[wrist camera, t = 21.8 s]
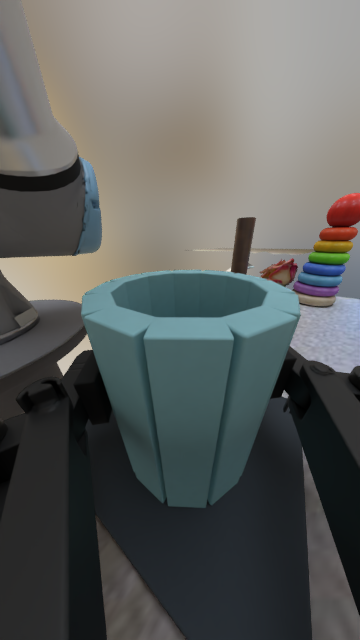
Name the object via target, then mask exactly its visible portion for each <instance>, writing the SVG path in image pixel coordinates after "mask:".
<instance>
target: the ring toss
mask: <svg viewBox="0 0 360 640" xmlns="http://www.w3.org/2000/svg"><path fill="white" fill-rule="evenodd" d="M255 220H256V218H254V217H247V218H239V219H238V220H237V227H236V235H235V244H234V251H233V259H232V267H231V272H234V274H236V273H241V274H245V275H246V273H247V267H248V261H249V255H250V250H251V244H252V238H253V232H254V226H255Z"/></svg>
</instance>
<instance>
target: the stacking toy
mask: <svg viewBox="0 0 360 640" xmlns="http://www.w3.org/2000/svg"><path fill="white" fill-rule="evenodd" d="M359 221H360V193H353V194H349V195H346V196H344V197H342V198H340V199H339V200H337V201H336V202H335V203H334V204H333V205H332V206H331V208H330V209H329V211H328V214H327V222H328V224H329V225H330V226H332V228H326V229H323V230H322V231H321V232H320V235H319V237H320V239H321V241H318V242H316V243H315V245H314V250H315V252H312V253H311V254H310V255H309V261H310V262H307V263H305V265H304V266H303V271H304V272H301V273H300V274H299V276H298V281H296V282H295V283H294V286H293V287H294V289H293V290H292V291H294V292H295V294H296V295H298V297H299V303H302V304H306V305H312V306H329V305H332V304H333V303H334V302H335V300H336V297H335V296H334V295H335V294H337V293H338V291H339V288H338V286H337V285H339V284H340V283H341V282H342V277H341V276H340V274H342V273H343V272H344V271H345V265H343V264H344V263H346V262H347V261H348V260H349V258H350V255H349V254H348V253H346V252H348V251H350V250H351V249H352V247H353V243H352V242H351V241H348V240H351V239H353V238H354V237H355V236H356V235H357V233H358V230H357V229H356V228H354V227H350V226H352V225H354V224H356V223H358V222H359Z"/></svg>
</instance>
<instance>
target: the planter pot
mask: <svg viewBox="0 0 360 640" xmlns="http://www.w3.org/2000/svg"><path fill="white" fill-rule="evenodd" d="M81 316H82V319H83V322H84V325H85V328H86V331H87V334H88V337H89V340H90V343H91V346H92V349H93V352H94V355H95V358H96V361H97V364H98V367H99V370H100V373H101V376H102V379H103V382H104V385H105V388H106V391H107V394H108V397H109V400H110V403H111V406H112V409H113V412H114V415H115V418H116V421H117V424H118V427H119V430H120V433H121V436H122V439H123V442H124V444H125V447H126V450H127V453H128V456H129V459H130V462H131V465H132V468H133V471H134V472H135V474H136V477H137V479H138V480H139V481H140V482H141V483H142V484H143V485H144V486H145V487H146V488H147V489H148V490H149V491H150V492H151V493H152V494H153V495H154V496H155V497H156V498H157V499H158V500H159V501H161V502H162V503H164V501H165V499H166V497H167V503H168V506H174V507H194V508H206V504H207V499H208V501H209V504H210V505H213V504H214V503H215V502H216V501H217V500H219V499H220V498H221V497H222V496H223V495H224V494H225V493H226V492H228V491H229V490H230V489H231V488H232V487H233V486H234V485H236V484H237V483H238V481H239V478H240V476H242V473H243V470H244V468H245V465H246V462H247V459H248V457H249V454H250V451H251V449H252V446H253V443H254V440H255V438H256V435H257V432H258V430H259V427H260V424H261V422H262V419H263V416H264V413H265V411H266V408H267V405H268V403H269V400H270V397H271V394H272V392H273V389H274V386H275V384H276V381H277V378H278V375H279V373H280V370H281V367H282V365H283V362H284V359H285V356H286V354H287V351H288V348H289V346H290V343H291V340H292V337H293V335H294V332H295V329H296V327H297V324H298V321H299V318H300V316H301V315H300V306H299V297H298V295H296V294H295V292H294V291H292V290H290V289H288V288H286V287H284V286H281V285H279V284H277V283H275V282H273V281H271V280H267V279H264V278H259V277H255V276H250V275H245V274H241V273H236V274H234V272H224V271H212V270H205V271H201V270H173V272H172V271H169V270H167V271H157V272H148V273H141V274H135V275H130V276H126V277H122V278H118V279H114V280H110V282H105V283H103V284H101V285H99V286H97V287H95V288H94V289H92V290H90V291H88V292H86V293H85V295H83V297H82V309H81Z"/></svg>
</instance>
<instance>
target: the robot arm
mask: <svg viewBox="0 0 360 640" xmlns="http://www.w3.org/2000/svg"><path fill="white" fill-rule="evenodd" d="M101 225H102V224H101V211H100V208H99V194H98V187H97V182H96V177H95V174H94V170H93V167H92V166H91V164H90V163H89V162H88V161H85V160H84V159H83V158H81V157H79V155H78V151H77V147H76V144H75V141H74V140H73V138H72V136H71V135H70V134H69V133H68V132H67V131H66V130H65V128H64V127H63V126H62V125H61V124H60V123H59V122H58V121H57V120H56V119H55V118H54V116H53V114H52V111H51V107H50V103H49V100H48V96H47V93H46V89H45V85H44V82H43V79H42V75H41V71H40V67H39V64H38V60H37V56H36V53H35V49H34V46H33V42H32V38H31V35H30V31H29V27H28V24H27V20H26V17H25V13H24V9H23V6H22V3H21V0H0V258H10V257H38V256H65V255H66V256H67V255H72V256H76V255H78V254H86V253H93V252H95V251H97V250H98V249H99V248H100V245H101V238H102V226H101ZM39 321H40V317H39V315H38V312H37V310H36V309H35V308H34V306H33V305H32V304H31V303H30V302H29V301H28V300H27V299H26V298H25V297H24V296H23V295H22V294H21V293H20V292H19V291H18V290H17V289H16V288H15V287H14V286H13V285H12V284H11V283H10V282H8V280H7V279H6V278H5V277H4V276H3V274H2V272H1V270H0V345H3V344H5V343H7V342H9V341H12V340H14V339H16V338H18V337H20V336H22V335H23V334H25V333H27V332H28V331H30V330H31V329H33V328H34V327H35V326H36V325H37V324H38V323H39ZM284 390H285V391H286V392H287V394H288V395H289V396H288V398H287V401H286V403H285V405H284V407H283V412H286V411H287V409H288V407H289V409H290V411H289V413H290V414H291V415H292V418H293V421H294V424H295V426H296V429H297V432H298V435H299V438H300V441H301V444H302V447H303V450H304V453H305V456H306V459H307V462H308V465H309V468H310V471H311V474H312V477H313V480H314V483H315V486H316V488H317V491H318V494H319V497H320V500H321V503H322V506H323V509H324V512H325V515H326V518H327V521H328V524H329V527H330V530H331V533H332V536H333V539H334V542H335V545H336V547H337V550H338V553H339V556H340V559H341V562H342V565H343V568H344V571H345V574H346V577H347V580H348V583H349V586H350V589H351V592H352V595H353V598H354V601H355V604H356V607H357V609H358V612H359V615H360V366H356V367H355V368H354V369H353V370H352V372H351V373H342V372H335V371H334V370H333V369H332V368H331V367H329V366H327V365H325V364H323V363H320V362H317V361H308V360H306V359H305V358H304V357H303V356H301V355H300V354H299V353H298V352H296V351H295V350H294V349H293V348H291V347H290V346H289V348H288V351H287V354H286V356H285V359H284V362H283V365H282V367H281V370H280V373H279V375H278V378H277V381H276V384H275V386H274V389H273V392H272V394H271V397H270V399H273V398H280V397H281V396H282V393H283V391H284ZM16 401H17V403H18V404H19V405H20V406H21V408H22V409H23V410H24V412H25V413H23V414H21V415H18V416H15V417H12V418H10V419H7V420H4V421H3V420H2V419H1V418H0V640H107V635H106V624H105V613H104V603H103V592H102V582H101V571H100V560H99V550H98V539H97V529H96V518H95V507H94V497H93V486H92V476H91V465H90V454H89V444H88V433H87V431H86V428H85V427H86V424H87V422H88V419H89V420H90V422H91V424H92V425H97V424H104V423H109V420H110V416H111V412H112V406H111V403H110V400H109V397H108V394H107V391H106V388H105V385H104V382H103V379H102V376H101V373H100V370H99V367H98V364H97V361H96V358H95V355H94V352H93V350H87V351H83V352H82V353H81V354H79V355H78V356H77V357H76V359H75V360H74V362H73V363H72V365H71V366H70V367H69V369H68V371H67V372H66V373H65V375H64V376H63V378H62V379H59V378H57V377H47V378H43V379H40V380H38V381H36V382H34V383H32V384H31V385H29V386H27V387H26V388H25V389H24V390H23V391H22V392H20V393H19V395H18V396H17V398H16Z"/></svg>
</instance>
